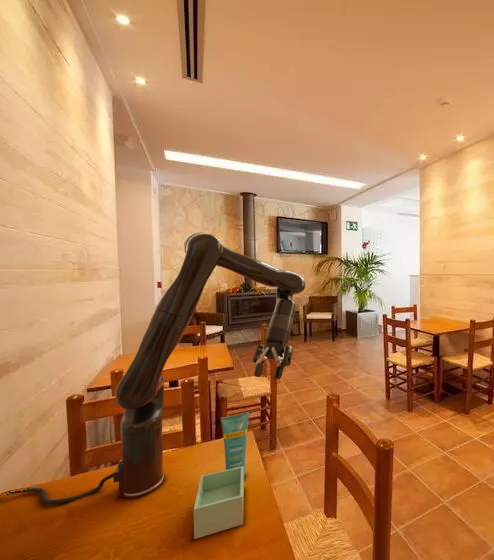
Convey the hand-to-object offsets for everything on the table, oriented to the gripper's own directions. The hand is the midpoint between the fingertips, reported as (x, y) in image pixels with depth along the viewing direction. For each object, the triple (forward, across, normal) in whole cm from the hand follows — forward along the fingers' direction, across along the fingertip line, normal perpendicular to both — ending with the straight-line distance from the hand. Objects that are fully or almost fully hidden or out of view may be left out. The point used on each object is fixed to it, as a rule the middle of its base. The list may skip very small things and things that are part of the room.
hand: (266, 377), depth 97 cm
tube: (+29, -4, +2) cm, 29 cm away
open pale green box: (+34, +4, -7) cm, 34 cm away
